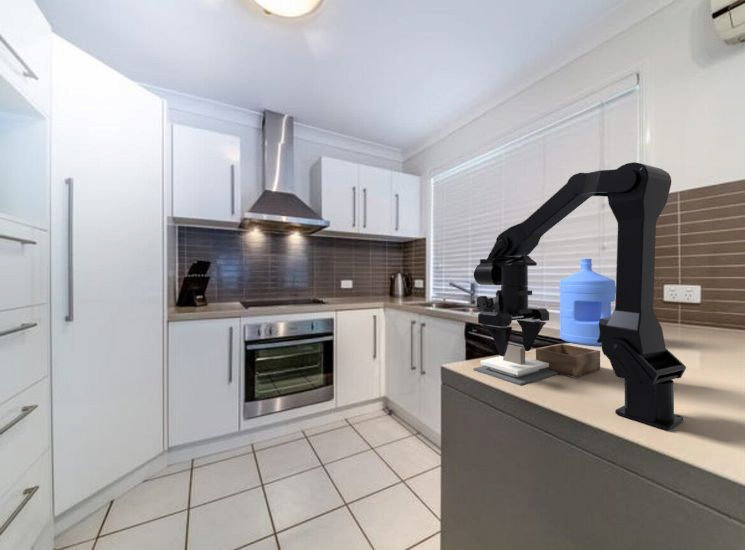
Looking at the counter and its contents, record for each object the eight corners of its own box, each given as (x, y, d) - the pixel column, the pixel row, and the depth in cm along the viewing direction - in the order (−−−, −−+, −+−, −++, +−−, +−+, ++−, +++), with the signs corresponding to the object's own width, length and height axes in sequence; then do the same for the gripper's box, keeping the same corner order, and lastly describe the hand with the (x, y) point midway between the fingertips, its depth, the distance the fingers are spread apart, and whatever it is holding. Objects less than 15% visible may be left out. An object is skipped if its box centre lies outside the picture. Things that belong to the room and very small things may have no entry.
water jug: (549, 337, 110) (548, 260, 110) (586, 336, 113) (585, 260, 113) (587, 347, 94) (586, 257, 95) (629, 345, 97) (628, 257, 97)
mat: (520, 385, 62) (520, 383, 62) (473, 369, 72) (473, 368, 72) (558, 373, 69) (558, 372, 69) (510, 361, 79) (510, 359, 79)
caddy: (576, 377, 66) (575, 357, 66) (535, 367, 74) (535, 348, 74) (600, 369, 72) (600, 350, 72) (560, 360, 80) (560, 343, 80)
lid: (517, 380, 64) (517, 354, 64) (480, 368, 72) (480, 345, 72) (548, 371, 70) (548, 347, 70) (511, 361, 78) (510, 339, 78)
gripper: (508, 284, 82) (509, 342, 82) (459, 286, 73) (459, 351, 73) (550, 285, 73) (550, 350, 73) (499, 287, 63) (500, 362, 63)
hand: (514, 353), depth 71 cm, fingers open, 9 cm apart
